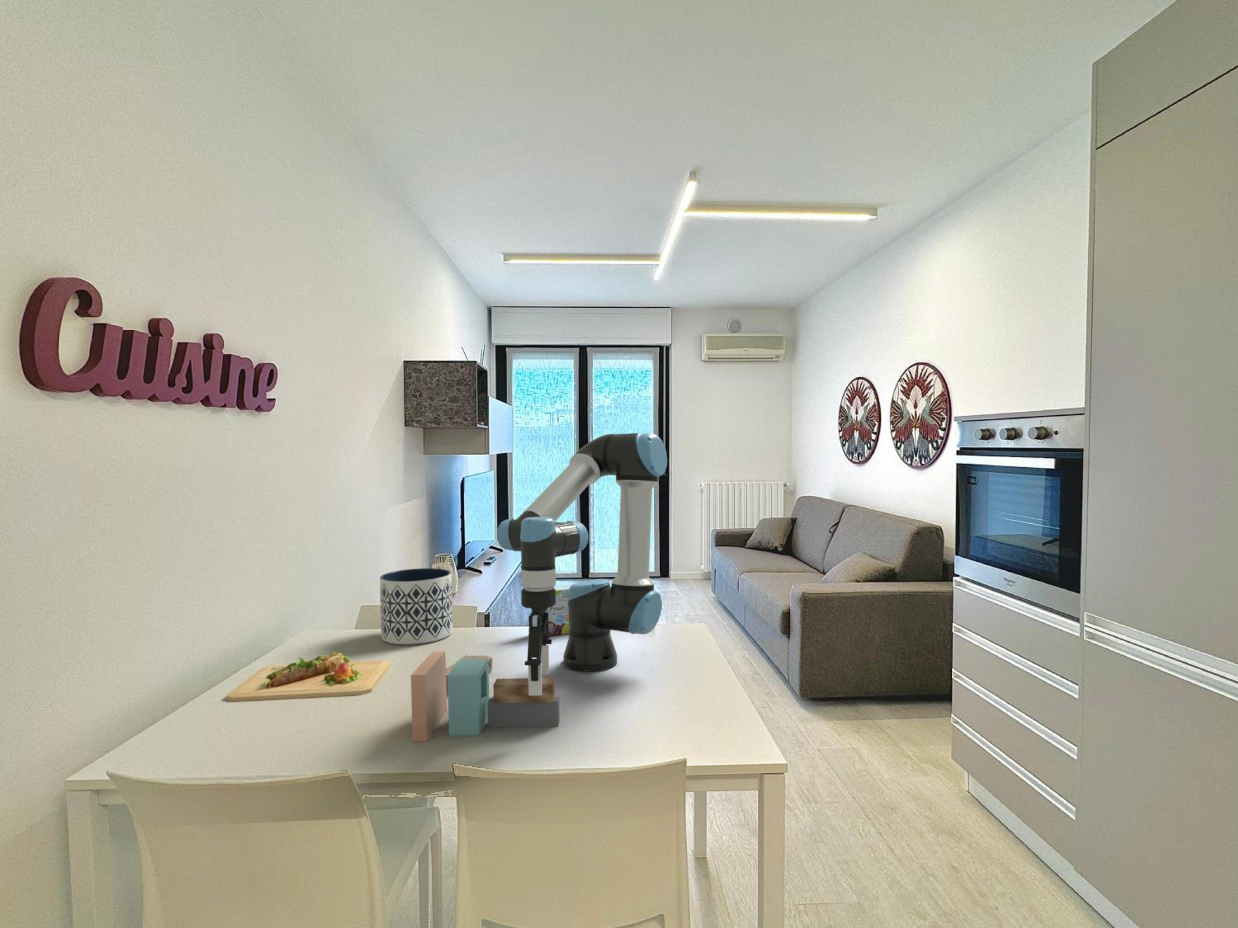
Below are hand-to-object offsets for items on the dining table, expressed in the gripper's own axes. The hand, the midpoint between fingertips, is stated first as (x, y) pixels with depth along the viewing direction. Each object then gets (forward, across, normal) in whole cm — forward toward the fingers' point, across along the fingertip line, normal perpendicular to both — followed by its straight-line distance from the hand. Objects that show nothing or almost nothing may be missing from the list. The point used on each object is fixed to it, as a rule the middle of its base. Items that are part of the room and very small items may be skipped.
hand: (539, 683), depth 148 cm
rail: (+9, 0, -4) cm, 10 cm away
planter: (+9, -71, -49) cm, 87 cm away
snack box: (+8, -73, -1) cm, 74 cm away
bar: (+4, 0, -3) cm, 5 cm away
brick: (+9, -28, -23) cm, 38 cm away
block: (+9, 0, -16) cm, 18 cm away
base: (+9, 0, -24) cm, 26 cm away
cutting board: (+10, -30, -64) cm, 71 cm away
